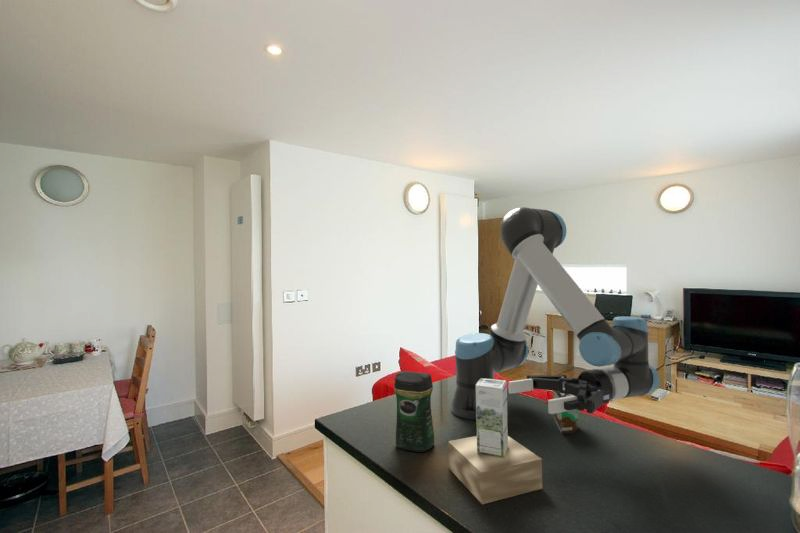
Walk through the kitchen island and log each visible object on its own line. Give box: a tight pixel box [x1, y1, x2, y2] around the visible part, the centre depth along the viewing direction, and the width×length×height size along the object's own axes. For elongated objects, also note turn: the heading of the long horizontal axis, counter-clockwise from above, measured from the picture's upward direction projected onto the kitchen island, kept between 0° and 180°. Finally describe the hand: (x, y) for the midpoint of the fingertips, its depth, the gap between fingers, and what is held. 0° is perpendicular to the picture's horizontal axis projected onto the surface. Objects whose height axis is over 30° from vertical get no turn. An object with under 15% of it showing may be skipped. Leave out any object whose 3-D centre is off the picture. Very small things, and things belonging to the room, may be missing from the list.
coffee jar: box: [393, 370, 435, 453], centre depth 96 cm, size 10×8×19 cm
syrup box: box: [475, 378, 509, 457], centre depth 80 cm, size 6×6×14 cm
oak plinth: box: [447, 435, 543, 505], centre depth 80 cm, size 14×14×6 cm
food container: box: [552, 386, 579, 434], centre depth 105 cm, size 12×6×10 cm, turn 168°
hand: (527, 396), depth 83 cm, fingers open, 13 cm apart
